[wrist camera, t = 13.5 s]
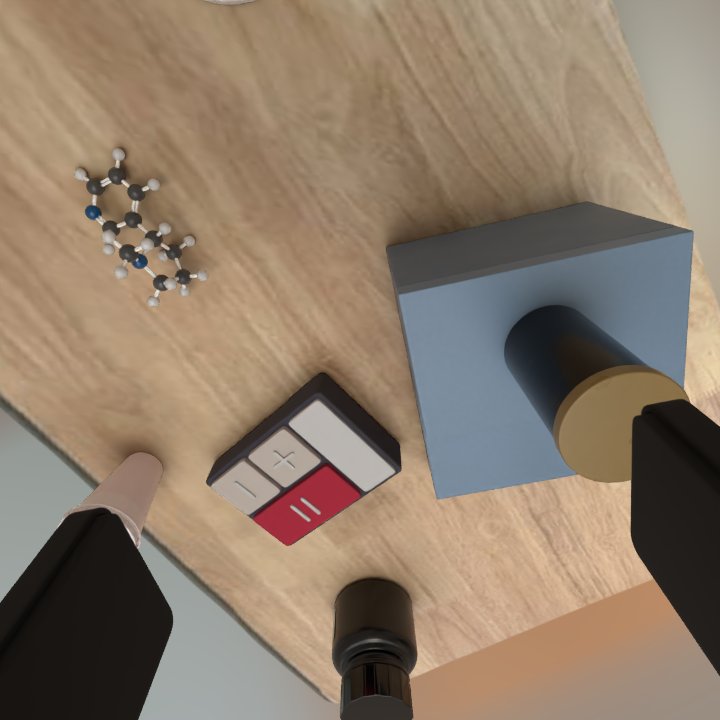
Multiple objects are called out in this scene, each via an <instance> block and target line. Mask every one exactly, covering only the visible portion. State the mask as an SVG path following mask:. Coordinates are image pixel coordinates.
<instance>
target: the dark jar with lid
mask: <svg viewBox="0 0 720 720" xmlns="http://www.w3.org/2000/svg"><path fill="white" fill-rule="evenodd" d="M504 358H505V362H506V365H507V367H508V369H509V371H510V372H511V374H512V375H513V377H514V379H515V380H516V382H517V383H518V385H519V386H520V388H521V389H522V391H523V392H524V394H525V395H526V397H527V398H528V400H529V401H530V403H531V405H532V406H533V408H534V409H535V411H536V412H537V414H538V415H539V417H540V418H541V420H542V421H543V423H544V424H545V426H546V427H547V429H548V431H549V432H550V434H551V435H552V437H553V438H554V442H555V445H556V448H557V450H558V452H559V454H560V455H561V457H562V458H563V460H564V461H565V463H566V464H567V465H568V466H569V467H570V468H571V469H572V470H573V471H574V472H576V473H577V474H579V475H581V476H583V477H585V478H587V479H590V480H593V481H598V482H607V483H612V482H624V481H628V480H631V473H632V422H633V418H634V417H635V416H637V415H641V411H642V409H643V407H644V406H646V405H649V404H654V403H659V402H665V401H670V400H675V399H684V400H686V401H688V402H689V403H690V401H689V398H688V396H687V394H686V392H685V391H684V389H683V388H682V387H681V386H680V385H679V384H678V383H676V382H675V381H674V380H673V379H671V378H670V377H669V376H667V375H666V374H665V373H663V372H661V371H659V370H657V369H654V368H651V367H650V366H648V365H647V364H646V363H645V362H643V361H642V360H641V359H639V358H638V357H637V356H636V355H634V354H633V353H632V352H630V351H629V350H628V349H627V348H625V347H624V346H623V345H621V344H620V343H619V342H618V341H616V340H615V339H614V338H613V337H611V336H610V335H609V334H607V333H606V332H605V331H604V330H602V329H601V328H600V327H598V326H597V325H596V324H595V323H593V322H592V321H591V320H589V319H588V318H587V317H586V316H584V315H583V314H582V313H581V312H579V311H577V310H576V309H574V308H571V307H568V306H563V305H549V306H544V307H540V308H538V309H535V310H533V311H531V312H529V313H528V314H526V315H525V316H523V317H522V318H521V319H520V320H519V321H518V322H517V323H516V324H515V325H514V326H513V328H512V329H511V331H510V333H509V334H508V337H507V339H506V342H505V347H504Z"/></svg>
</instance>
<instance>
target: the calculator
mask: <svg viewBox="0 0 720 720" xmlns="http://www.w3.org/2000/svg"><path fill="white" fill-rule="evenodd" d="M400 471H401V453H400V445H399V444H398V443H397V442H396V441H395V440H394V439H393V438H392V437H391V436H390V435H389V434H388V433H387V432H386V431H385V430H384V429H383V428H382V427H381V426H380V425H378V424H377V423H376V422H375V421H374V420H373V419H372V418H371V417H370V416H369V415H368V414H367V413H366V412H365V411H364V410H363V409H362V408H361V407H360V406H359V405H357V404H356V403H355V402H354V401H353V400H352V399H351V398H350V397H349V396H348V395H347V394H346V393H345V392H344V391H343V390H342V389H341V388H340V387H339V386H338V385H336V384H335V383H334V382H333V381H332V380H331V379H330V378H329V377H328V376H327V375H326V374H324V373H321V374H319V375H317V376H316V377H315V378H314V379H313V380H311V381H310V382H309V383H308V384H306V385H305V386H304V387H303V388H302V389H300V390H299V391H298V392H297V393H295V394H294V395H293V396H292V397H291V399H290V400H289V401H288V402H287V403H286V404H285V405H284V406H283V407H281V408H280V409H279V410H278V411H276V412H275V413H274V414H273V415H272V416H270V417H269V418H268V419H267V420H265V421H264V422H263V423H262V424H261V425H259V426H258V427H257V428H256V429H254V430H253V431H252V432H251V433H249V434H248V435H247V436H246V437H245V438H243V439H242V440H241V441H240V442H238V443H237V444H236V445H235V446H234V447H232V448H231V449H230V450H229V451H227V452H226V453H225V454H224V455H222V456H221V457H220V458H219V459H218V460H216V461H215V463H214V465H213V467H212V469H211V471H210V473H209V476H208V478H207V480H206V483H207V485H208V486H210V487H211V488H212V489H213V490H214V491H215V492H217V493H218V494H219V495H220V496H222V497H223V498H224V499H226V500H227V501H228V502H230V503H231V504H232V505H234V506H235V507H236V508H237V509H239V510H240V511H241V512H243V513H244V514H246V515H247V516H249V517H250V518H251V519H253V520H254V521H255V522H256V523H257V524H258V525H260V526H261V527H262V528H264V529H265V530H266V531H268V532H269V533H270V534H271V535H273V536H274V537H275V538H277V539H278V540H279V541H281V542H282V543H283V544H285V545H286V546H290V545H292V544H294V543H295V542H297V541H298V540H300V539H301V538H303V537H304V536H306V535H307V534H309V533H310V532H311V531H313V530H314V529H316V528H317V527H319V526H320V525H322V524H323V523H325V522H326V521H328V520H329V519H331V518H332V517H334V516H335V515H337V514H338V513H340V512H341V511H343V510H344V509H346V508H347V507H349V506H350V505H352V504H353V503H354V502H356V501H357V500H359V499H360V498H362V497H363V496H365V495H366V494H368V493H369V492H371V491H372V490H374V489H375V488H377V487H378V486H380V485H381V484H383V483H384V482H386V481H387V480H389V479H390V478H392V477H393V476H394V475H396V474H397V473H399V472H400Z"/></svg>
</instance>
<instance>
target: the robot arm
mask: <svg viewBox="0 0 720 720" xmlns="http://www.w3.org/2000/svg"><path fill="white" fill-rule="evenodd" d="M204 1H208V2H212V3H216V4H232V5H238V4H243V3H247V2H252V1H256V0H204ZM631 538H632V542H633V545H634V548H635V550H636V552H637V554H638V555H639V557H640V558H641V560H642V561H643V563H644V564H645V566H646V567H647V569H648V570H649V572H650V573H651V575H652V576H653V578H654V579H655V581H656V582H657V584H658V585H659V587H660V588H661V590H662V591H663V593H664V594H665V596H666V597H667V598H668V600H669V601H670V603H671V604H672V606H673V607H674V609H675V610H676V612H677V613H678V615H679V616H680V618H681V619H682V621H683V622H684V623H685V625H686V627H687V628H688V629H689V631H690V632H691V634H692V636H693V637H694V638H695V640H696V642H697V643H698V644H699V646H700V647H701V649H702V650H703V652H704V653H705V655H706V656H707V658H708V659H709V661H710V662H711V664H712V665H713V667H714V668H715V670H716V671H717V673H718V674H719V676H720V426H718V425H717V424H716V423H715V422H713V421H712V420H711V419H710V418H708V417H707V416H706V415H705V414H703V413H702V412H701V411H699V410H698V409H697V408H696V407H694V406H693V405H692V404H691V403H689V402H688V401H686V400H684V399H675V400H670V401H665V402H659V403H654V404H649V405H646V406H644V407H643V409H642V411H641V415H637V416H635V417H634V418H633V422H632V473H631ZM172 627H173V614H172V611H171V608H170V606H169V604H168V603H167V601H166V599H165V597H164V596H163V594H162V592H161V590H160V588H159V586H158V585H157V583H156V581H155V580H154V578H153V576H152V574H151V572H150V570H149V569H148V567H147V565H146V563H145V561H144V560H143V558H142V556H141V554H140V552H139V551H138V549H137V547H136V545H135V543H134V542H133V540H132V538H131V536H130V534H129V533H128V531H127V529H126V527H125V526H124V524H123V522H122V520H121V518H120V517H119V516H118V515H117V514H114V513H111V512H110V510H108V509H107V508H102V507H100V508H95V509H89V510H84V511H79V512H74V513H71V514H69V515H68V516H67V517H66V518H65V519H64V520H63V522H62V523H61V524H60V526H59V527H58V528H57V529H56V531H55V532H54V534H53V535H52V536H51V537H50V539H49V540H48V541H47V543H46V544H45V545H44V547H43V548H42V549H41V550H40V552H39V553H38V554H37V556H36V557H35V558H34V559H33V561H32V562H31V563H30V565H29V566H28V567H27V569H26V570H25V571H24V573H23V574H22V575H21V576H20V578H19V579H18V581H17V582H16V583H15V584H14V586H13V587H12V588H11V589H10V591H9V592H8V593H7V595H6V596H5V597H4V599H3V600H2V601H1V603H0V720H138V719H139V716H140V713H141V711H142V708H143V705H144V703H145V700H146V697H147V695H148V692H149V689H150V687H151V684H152V681H153V679H154V676H155V673H156V671H157V668H158V666H159V663H160V660H161V657H162V655H163V652H164V650H165V647H166V644H167V641H168V639H169V636H170V634H171V631H172Z"/></svg>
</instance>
